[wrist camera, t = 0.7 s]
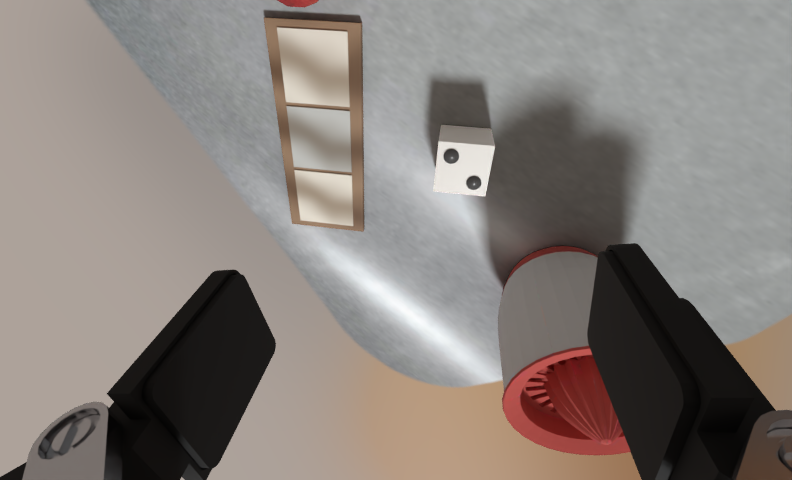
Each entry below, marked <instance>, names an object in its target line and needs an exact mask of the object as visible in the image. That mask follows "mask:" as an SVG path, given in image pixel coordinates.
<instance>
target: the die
mask: <svg viewBox="0 0 792 480" xmlns="http://www.w3.org/2000/svg"><path fill="white" fill-rule="evenodd" d="M494 149H495V143H494V139H493V134H492V129H489V128H477V127H464V126H452V125H441V128H440V135H439V142H438V151H437V161H436V170H435V180H434V189H433V191H435V192H445V193H455V194H465V195H475V196H486V191H487V185H488V180H489V175H490V170H491V165H492V160H493V154H494Z"/></svg>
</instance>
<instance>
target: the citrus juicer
mask: <svg viewBox="0 0 792 480" xmlns="http://www.w3.org/2000/svg"><path fill="white" fill-rule="evenodd" d="M597 259H598V256H597V255H595V254H593V253H590V252H588V251H586V250H584V249H580V248H576V247H570V246H556V247H549V248H545V249H541V250H539V251H536V252H533V253H532V254H530V255H528V256H526V257H525V258H523V259H522V260H521V261H520V262H519V263H518V264H517V265H516V266H515V267H514V268H513V270H512V271H511V273H510V275H509V277H508V279H507V281H506V283H505V285H504V288H503V293H502V297H501V302H500V307H499V314H498V335H499V347H500V356H501V365H502V375H503V384H504V395H503V398H502V402H503V411H504V413H505V415H506V418H507V420H508V421H509V423H510V424H511V425H512V426H513V428H514V429H515V430H516V431H518V432H519V433H520V434H521V435H522V436H524V437H525V438H527V439H529V440H531V441H533V442H534V443H536V444H539V445H542V446H544V447H547V448H549V449H553V450H557V451H561V452H566V453H573V454H580V455H612V454H620V453H626V452H631V451H630V449H629V446H628V444H627V441H626V439H625V436H624V433H623V431H622V428H621V426H620V423H619V421H618V418H617V416H616V413H615V411H614V408H613V406H612V403H611V401H610V398H609V395H608V393H607V390H606V388H605V385H604V383H603V380H602V378H601V375H600V373H599V370H598V368H597V365H596V363H595V360H594V357H593V355H592V352H591V350H590V347H589V344H588V338H587V330H588V323H589V316H590V309H591V302H592V295H593V288H594V280H595V273H596V266H597Z"/></svg>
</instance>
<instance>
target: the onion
mask: <svg viewBox="0 0 792 480" xmlns="http://www.w3.org/2000/svg"><path fill="white" fill-rule="evenodd" d="M278 1H279V2H281V3H283V4H285V5H286V6H290V7H307V6H309V5H311V4H314V3H316V2H317V1H318V0H278Z"/></svg>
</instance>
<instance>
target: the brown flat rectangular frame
mask: <svg viewBox="0 0 792 480" xmlns="http://www.w3.org/2000/svg"><path fill="white" fill-rule="evenodd" d="M264 23H265V30H266V38H267V45H268V52H269V59H270V67H271V74H272V81H273V88H274V95H275V103H276V110H277V117H278V124H279V132H280V139H281V146H282V153H283V161H284V168H285V175H286V182H287V190H288V197H289V204H290V211H291V219H292V224H301V225H310V226H318V227H327V228H336V229H345V230H354V231H364V151H363V59H362V23H356V22H339V21H321V20H304V19H286V18H268V17H266V18H264Z"/></svg>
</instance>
